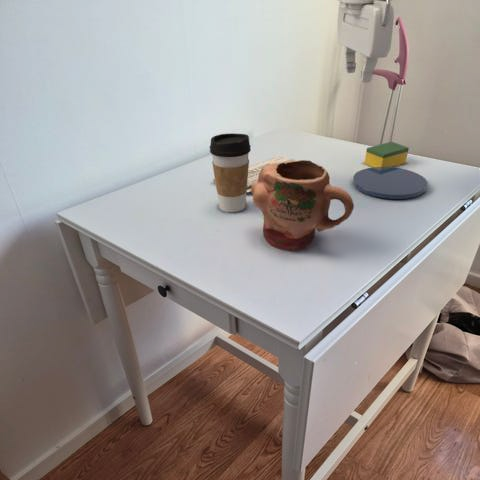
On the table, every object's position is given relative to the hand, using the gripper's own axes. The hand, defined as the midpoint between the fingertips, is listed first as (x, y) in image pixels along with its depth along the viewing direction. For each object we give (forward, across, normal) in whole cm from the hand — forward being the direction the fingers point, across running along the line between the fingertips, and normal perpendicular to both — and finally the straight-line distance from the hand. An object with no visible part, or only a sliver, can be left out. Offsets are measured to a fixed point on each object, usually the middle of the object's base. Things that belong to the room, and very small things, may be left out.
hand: (357, 76), depth 85 cm
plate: (+24, 0, -11) cm, 26 cm away
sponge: (+24, +14, -16) cm, 32 cm away
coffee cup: (+23, -5, +27) cm, 36 cm away
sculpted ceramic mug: (+24, -22, +16) cm, 36 cm away
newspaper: (+23, +10, +18) cm, 31 cm away
